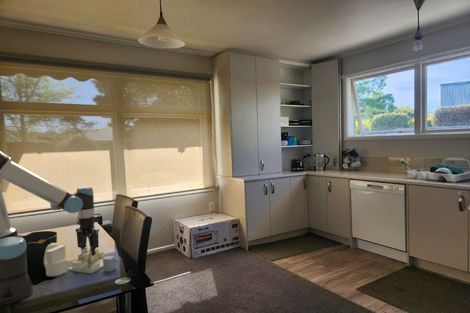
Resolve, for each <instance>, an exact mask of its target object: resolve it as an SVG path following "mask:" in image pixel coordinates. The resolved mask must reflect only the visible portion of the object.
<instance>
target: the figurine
mask: <svg viewBox="0 0 470 313" xmlns="http://www.w3.org/2000/svg"><path fill="white" fill-rule="evenodd" d="M57 246H60V245H59V244H58V243H57V242H52V243H49V244H48V245H47V246H46V248H45V251H44V256H43V265H44V268H45V269H46V261H47V260H46V251H47V250H50V249H52V248H55V247H57Z"/></svg>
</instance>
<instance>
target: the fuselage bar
mask: <svg viewBox="0 0 470 313" xmlns="http://www.w3.org/2000/svg"><path fill="white" fill-rule="evenodd" d="M99 251H100V249H99V248H96V249H95V253H96V254H95V260H97V259H99ZM77 260H78V261H80V262H82V263H85V262H88V264H89V263H91V262H90V253H89V250H87V252H84V253H82V252H81V253H80V254H77Z"/></svg>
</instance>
